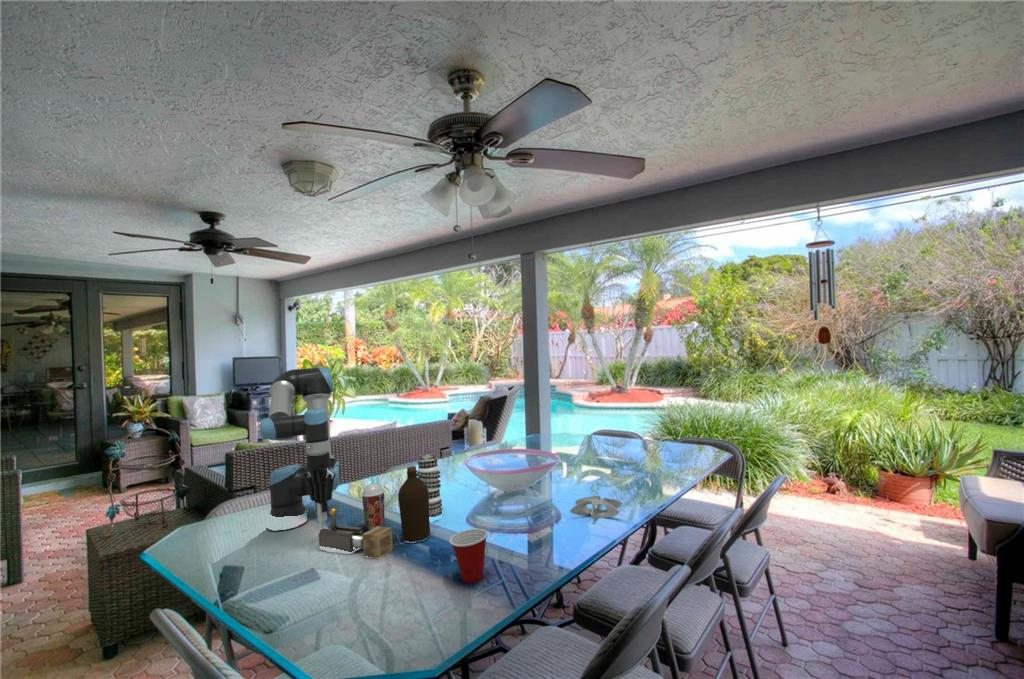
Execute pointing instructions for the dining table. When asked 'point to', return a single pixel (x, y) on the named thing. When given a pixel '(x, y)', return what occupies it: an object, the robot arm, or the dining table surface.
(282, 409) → the robot arm
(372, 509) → the smoothie
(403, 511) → the olive oil
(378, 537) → the socket block
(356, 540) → the ball knob lever
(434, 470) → the decorative candle
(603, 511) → the sculpture
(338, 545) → the outer sleeve
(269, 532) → the dining table surface
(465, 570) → the plastic cup
